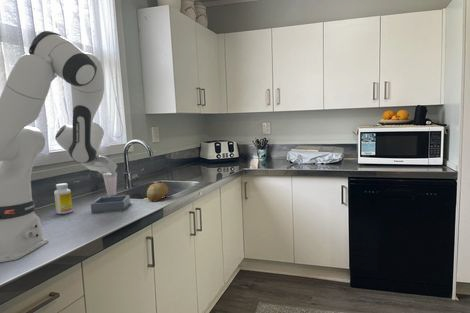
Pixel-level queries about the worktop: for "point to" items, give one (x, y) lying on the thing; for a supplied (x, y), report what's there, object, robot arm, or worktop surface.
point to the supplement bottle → (63, 199)
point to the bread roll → (157, 191)
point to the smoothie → (110, 183)
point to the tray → (110, 204)
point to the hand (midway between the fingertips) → (111, 174)
